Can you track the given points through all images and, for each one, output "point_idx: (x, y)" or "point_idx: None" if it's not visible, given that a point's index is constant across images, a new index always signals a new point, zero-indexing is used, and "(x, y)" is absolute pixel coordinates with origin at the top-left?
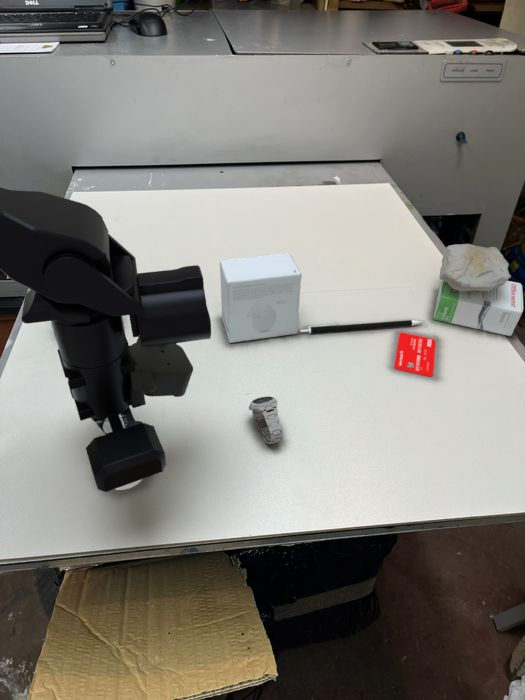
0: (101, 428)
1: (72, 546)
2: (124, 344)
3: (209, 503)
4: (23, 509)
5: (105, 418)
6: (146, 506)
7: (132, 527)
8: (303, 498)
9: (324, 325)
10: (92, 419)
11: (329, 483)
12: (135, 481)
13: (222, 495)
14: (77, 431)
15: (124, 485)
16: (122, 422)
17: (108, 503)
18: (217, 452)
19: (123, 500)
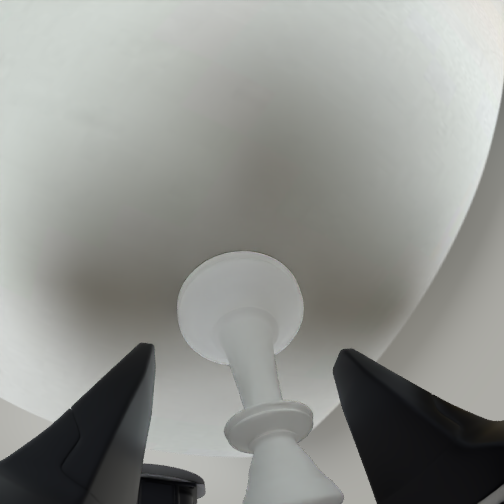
0: (149, 421)
1: (332, 406)
2: None
3: (434, 169)
4: (222, 445)
5: (135, 441)
6: (362, 293)
7: (377, 329)
8: (477, 45)
9: None
10: (140, 475)
11: (466, 3)
12: (303, 304)
13: (434, 134)
14: (67, 351)
15: (297, 330)
16: (316, 501)
17: (301, 357)
18: (333, 50)
19: (316, 331)
